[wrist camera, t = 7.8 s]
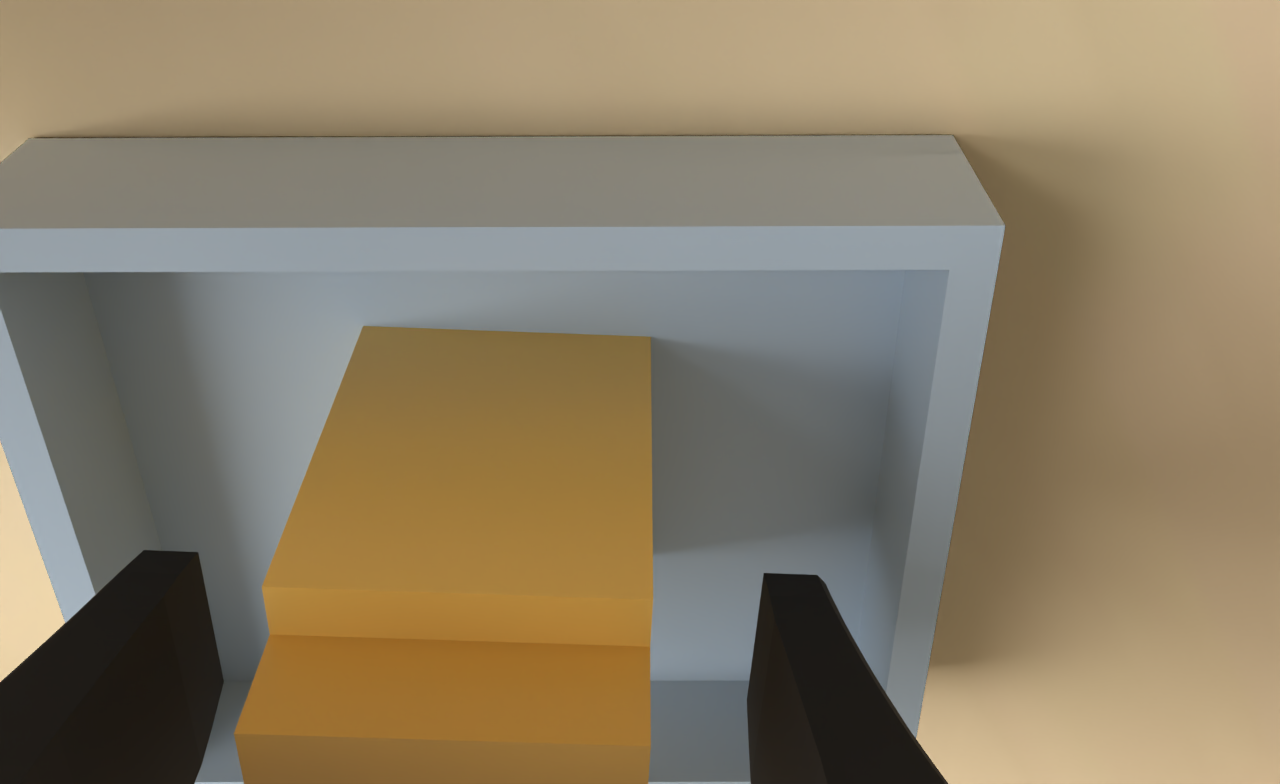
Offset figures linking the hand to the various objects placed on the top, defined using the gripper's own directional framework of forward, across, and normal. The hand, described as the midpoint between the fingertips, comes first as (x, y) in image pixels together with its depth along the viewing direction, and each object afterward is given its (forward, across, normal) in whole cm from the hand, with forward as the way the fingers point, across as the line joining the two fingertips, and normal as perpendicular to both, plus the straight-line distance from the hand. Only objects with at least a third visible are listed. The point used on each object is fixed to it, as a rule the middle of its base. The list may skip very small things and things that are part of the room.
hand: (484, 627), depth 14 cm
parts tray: (+4, 0, 0) cm, 4 cm away
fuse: (+3, 0, 0) cm, 3 cm away
